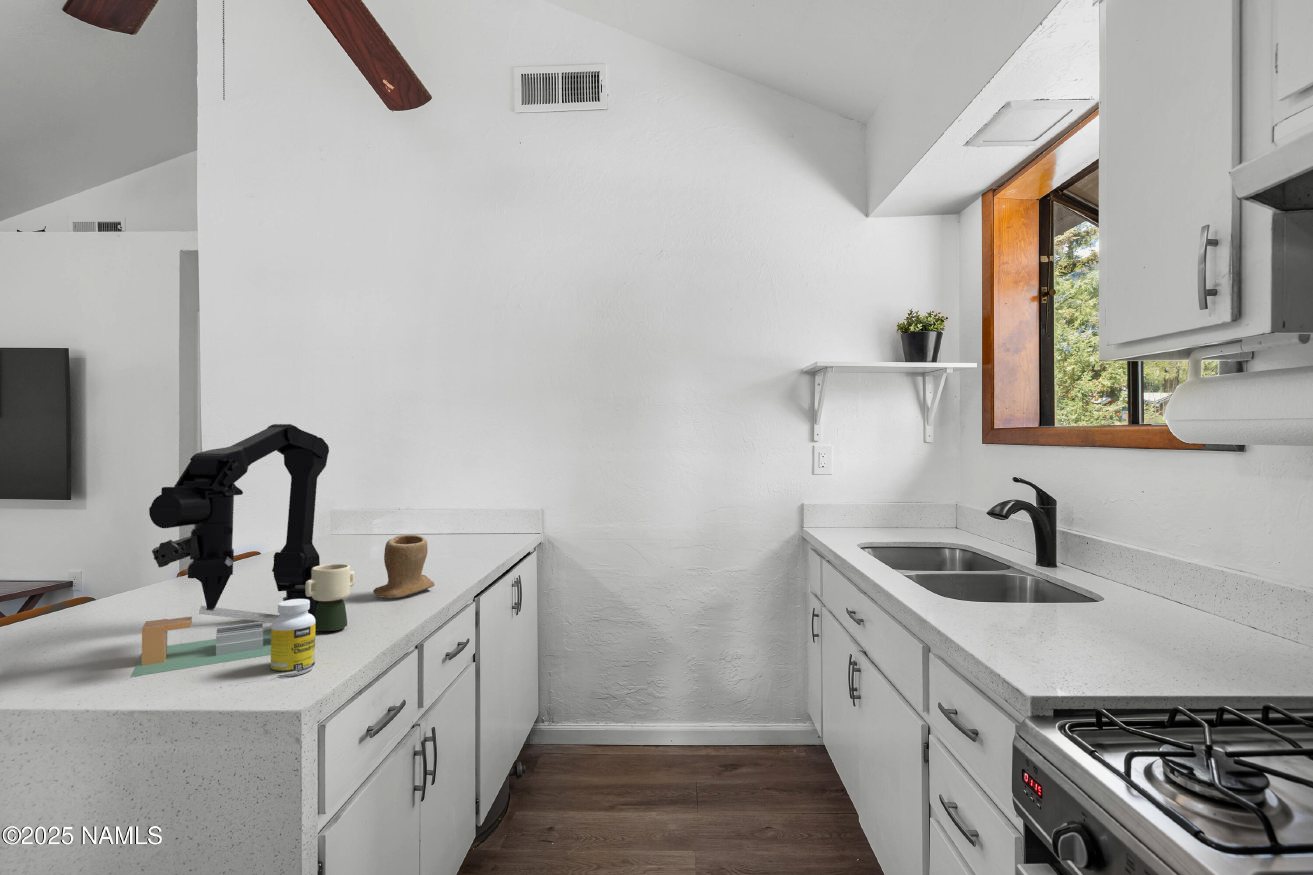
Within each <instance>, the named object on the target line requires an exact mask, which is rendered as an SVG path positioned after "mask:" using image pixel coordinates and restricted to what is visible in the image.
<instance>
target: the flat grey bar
mask: <svg viewBox="0 0 1313 875" xmlns="http://www.w3.org/2000/svg"><path fill="white" fill-rule="evenodd" d="M198 614H199V615H203V616H204V615H205V616H211V617H212V616H214V617H221V618H222V617H224V618H229V619H230V618H231V619H241V620H248V621H256V622H265V623H272V622H273V621H274V620H275V619H276V618H278V617H279V614H272V613H265V612H264V613H263V612H255V611H248V610H241V609H231V608H223V607H217V606H216V607H215V608H214V609H207V606H206V605H200V609H199V611H198Z"/></svg>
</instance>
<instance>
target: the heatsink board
mask: <svg viewBox="0 0 1313 875" xmlns="http://www.w3.org/2000/svg"><path fill="white" fill-rule="evenodd" d="M267 656H271V630H270V631H269V630H268V631H264V628H263V621H256V622H250V623H242V624H236V625H235V624H234V625H228V626H220V627H219V626H218V627H216V635H215V638H212V639H205V640H198V641H191V642H185V643H177V644H169V645H167V656H166V659H165V662H162V663H156V664H149V665H143V666H142V653H141V654H140V656H139V657H138V658H139V659H138V660H137V663H136V665H135V667H134V670H133V671H132V673H131V675H130V678H135V677H141V676H142V677H143V676H149V675H153V674H160V673H166V672H167V673H168V672H172V671H179V670H185V669H190V668H191V669H192V668H197V667H198V668H199V667H204V666H209V665H215V664H223V663H229V662H234V661H241V660H247V659H253V658H254V659H255V658H259V657H260V658H261V657H267Z"/></svg>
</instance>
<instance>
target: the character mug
mask: <svg viewBox="0 0 1313 875" xmlns="http://www.w3.org/2000/svg"><path fill="white" fill-rule="evenodd" d="M355 575H356V574H355V571H353V570H351V566H350V564H347V563H329V564H321V565H320V566H316V567H313V568H312V577H311V580H308V581H306V596H307V597H310V596H312V598H313V599H314V600H317V601H319V602H318V604H317V607H316V613H315V631H322V632H323V633H326V631H338V630H342V629H345V628H346V627H348V616H347V610H346V602H345V601H344V599H346V598H348V597H349V596H350V593H351V587H352V588H353V586H354V585H355Z"/></svg>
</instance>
